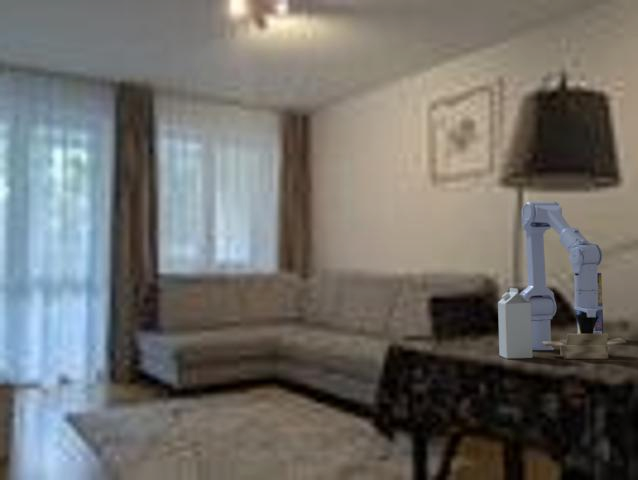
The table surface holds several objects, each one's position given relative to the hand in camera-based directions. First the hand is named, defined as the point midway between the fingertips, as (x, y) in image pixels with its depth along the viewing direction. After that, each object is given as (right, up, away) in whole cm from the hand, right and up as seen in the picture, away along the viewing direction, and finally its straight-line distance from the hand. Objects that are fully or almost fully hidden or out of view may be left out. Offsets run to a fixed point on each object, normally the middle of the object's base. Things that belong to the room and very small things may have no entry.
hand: (586, 341), depth 188 cm
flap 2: (+9, 0, +4) cm, 10 cm away
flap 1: (0, +1, 0) cm, 1 cm away
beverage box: (+18, -6, +45) cm, 49 cm away
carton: (-1, -5, +8) cm, 10 cm away
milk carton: (-17, -6, +8) cm, 19 cm away
